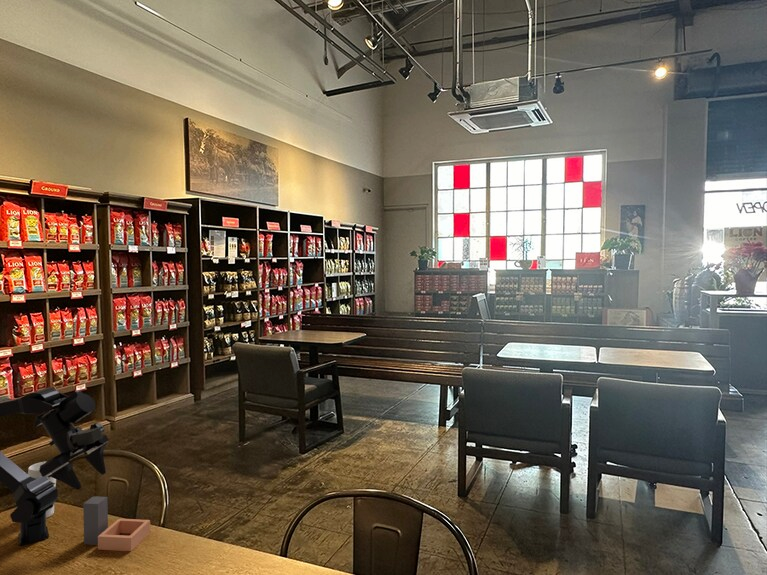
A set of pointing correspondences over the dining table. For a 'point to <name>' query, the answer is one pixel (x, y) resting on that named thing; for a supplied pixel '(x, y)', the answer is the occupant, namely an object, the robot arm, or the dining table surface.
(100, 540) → the socket
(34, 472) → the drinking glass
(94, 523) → the plug
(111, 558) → the dining table surface
